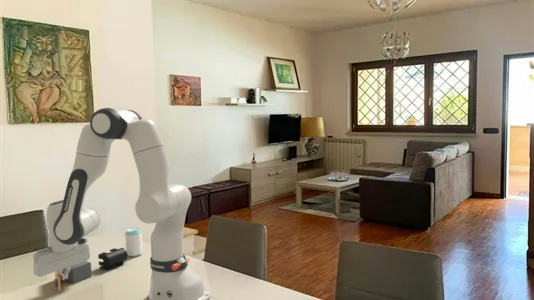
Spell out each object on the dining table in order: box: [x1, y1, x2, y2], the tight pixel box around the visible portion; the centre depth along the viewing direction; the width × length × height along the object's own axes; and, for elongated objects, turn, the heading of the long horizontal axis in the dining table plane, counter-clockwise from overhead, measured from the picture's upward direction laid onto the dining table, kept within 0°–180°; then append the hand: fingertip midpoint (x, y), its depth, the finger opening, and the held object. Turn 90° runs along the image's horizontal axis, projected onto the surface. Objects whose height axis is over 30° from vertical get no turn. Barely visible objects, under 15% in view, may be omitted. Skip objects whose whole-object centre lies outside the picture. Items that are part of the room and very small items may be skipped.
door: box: [54, 271, 62, 293], centre depth 151 cm, size 14×2×6 cm, turn 32°
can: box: [124, 227, 143, 258], centre depth 184 cm, size 7×7×12 cm
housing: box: [60, 260, 93, 285], centre depth 158 cm, size 10×8×7 cm
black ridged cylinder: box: [97, 247, 129, 271], centre depth 170 cm, size 10×7×7 cm
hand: (64, 279), depth 148 cm, fingers closed
